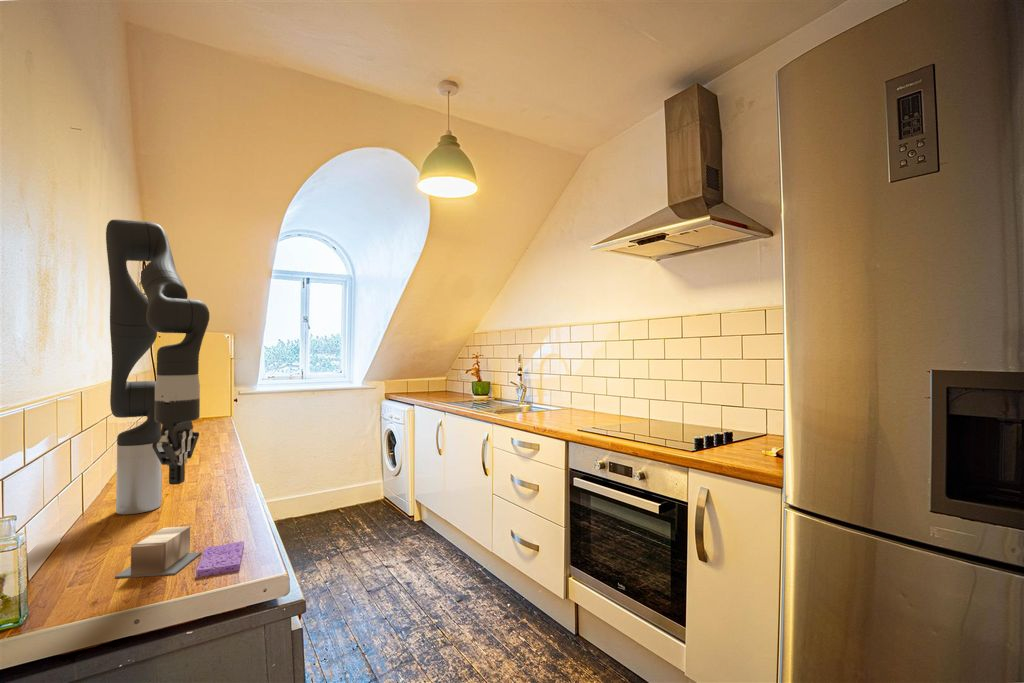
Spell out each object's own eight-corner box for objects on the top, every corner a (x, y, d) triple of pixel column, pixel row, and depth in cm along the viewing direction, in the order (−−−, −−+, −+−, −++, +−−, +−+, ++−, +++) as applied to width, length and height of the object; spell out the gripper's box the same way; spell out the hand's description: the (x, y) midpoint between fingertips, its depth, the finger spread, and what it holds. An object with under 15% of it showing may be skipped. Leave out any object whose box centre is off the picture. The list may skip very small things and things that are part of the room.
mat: (147, 556, 97) (147, 554, 97) (201, 553, 98) (201, 552, 98) (115, 577, 88) (115, 576, 88) (175, 574, 89) (175, 572, 89)
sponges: (195, 580, 87) (195, 570, 88) (204, 555, 99) (204, 545, 99) (240, 573, 91) (240, 563, 91) (244, 549, 102) (244, 539, 102)
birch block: (163, 527, 98) (131, 547, 88) (190, 526, 99) (161, 545, 89) (163, 552, 98) (130, 575, 88) (189, 551, 99) (160, 573, 89)
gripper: (175, 394, 105) (174, 475, 104) (136, 401, 92) (135, 493, 91) (213, 394, 106) (212, 474, 105) (179, 400, 93) (178, 492, 92)
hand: (176, 483), depth 98 cm, fingers closed
